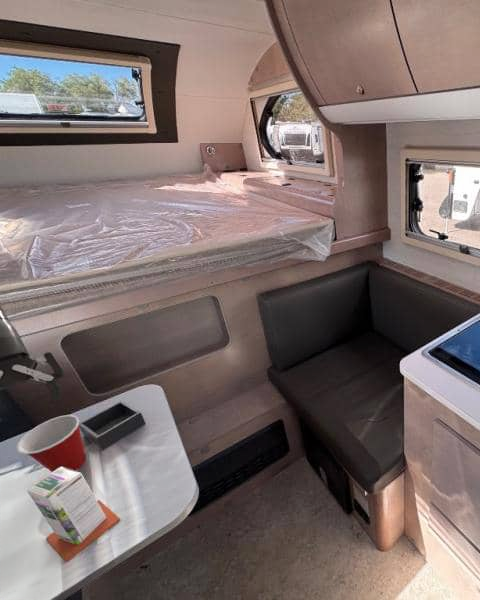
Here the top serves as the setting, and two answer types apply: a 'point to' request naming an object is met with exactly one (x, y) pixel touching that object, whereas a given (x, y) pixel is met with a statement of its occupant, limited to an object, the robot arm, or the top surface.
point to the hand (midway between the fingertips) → (28, 408)
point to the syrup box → (67, 504)
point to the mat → (71, 550)
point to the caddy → (115, 432)
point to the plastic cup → (55, 443)
